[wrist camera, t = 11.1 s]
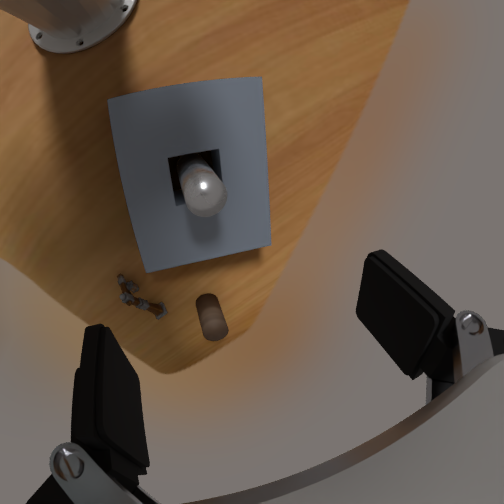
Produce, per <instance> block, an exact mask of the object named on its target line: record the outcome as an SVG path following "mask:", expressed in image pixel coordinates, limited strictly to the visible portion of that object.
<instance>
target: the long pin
mask: <svg viewBox="0 0 504 504" xmlns="http://www.w3.org/2000/svg"><path fill="white" fill-rule="evenodd" d="M176 169H177V173H178V177H179V181H180V184H181V188H182V192H183V195H184V199H185V202H186V205H187V207H188V209H189V210H190V211H191V212H192V213H193V214H195V215H197V216H200V217H210V216H213V215H215V214H217V213H218V212H220V211H221V210H222V209H223V207H224V206H225V204H226V201H227V190H226V187H225V185H224V184H223V183H222V181H221V180H220V179H219V178H218V176H217V175H216V174H215V173H214V171H213V170H212V169H211V167H210V166H209V165H208V164H207V163H206V161H205V160H204V159H203V158H202V156H201V155H199V154H197V153H190V154H185V155H182V156H181V157H180V158H179V159H178V161H177V165H176Z"/></svg>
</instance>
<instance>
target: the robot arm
mask: <svg viewBox="0 0 504 504" xmlns="http://www.w3.org/2000/svg"><path fill="white" fill-rule="evenodd" d="M136 2H137V0H0V9H1V10H3V11H5V12H7V13H9V14H11V15H13V16H15V17H17V18H19V19H21V20H23V21H25V22H27V23H28V29H29V33H30V36H31V38H32V39H33V41H34V42H35V43H36V44H37V45H38V46H39V47H41V48H42V49H45V50H47V51H50V52H53V53H61V54H67V53H75V52H78V51H82V50H85V49H88V48H90V47H92V46H94V45H96V44H98V43H100V42H101V41H103V40H105V39H106V38H108V37H109V36H110V35H111V34H113V33H114V32H115V31H116V30H117V29H118V28H119V27H120V26H121V25H122V24H123V23H124V22H125V21H126V19H127V18H128V17H129V16H130V14H131V12H132V10H133V9H134V7H135V5H136ZM124 9H127V11H125V12H123V10H124ZM41 36H42V38H41V39H40V37H41ZM81 42H84V43H83V45H81V46H80V43H81ZM454 313H455V310H453V308H451V307H450V306H449V305H448V304H447V303H446V302H445V301H444V300H443V299H441V298H440V297H439V296H438V295H437V294H436V293H435V292H434V291H433V290H431V289H430V288H429V287H428V286H427V285H426V284H424V283H423V282H422V281H421V280H419V278H417V277H416V276H415V275H414V274H413V273H412V272H410V271H409V270H408V269H407V268H405V267H404V266H403V265H402V264H401V263H399V262H398V261H397V260H396V259H394V258H393V257H392V256H391V255H390V254H388V253H387V252H386V251H384V250H378V251H374V252H371V253H369V254H368V256H367V258H366V259H365V261H364V268H363V274H362V280H361V285H360V291H359V296H358V301H357V306H356V314H357V317H358V318H359V320H360V321H361V322H362V323H363V324H364V326H365V327H366V328H367V329H368V330H369V331H370V333H371V334H372V335H373V336H374V337H375V339H376V340H377V341H378V342H379V344H380V345H381V346H382V347H383V348H384V350H385V351H386V352H387V353H388V354H389V356H390V357H391V358H392V359H393V361H394V362H395V363H396V364H397V365H398V367H399V368H400V369H401V370H402V372H403V373H404V374H405V375H409V376H410V378H411V379H412V380H414V379H415V378H417V377H418V376H420V375H421V374H422V373H423V372H424V373H425V374H426V375H427V387H426V405H425V406H424V407H422V408H421V409H419V410H418V411H416V412H415V413H413V414H412V415H410V416H409V417H407V418H406V419H404V420H403V421H401V422H400V423H398V424H397V425H395V426H393V427H392V428H390V429H388V430H386V431H385V432H383V433H381V434H380V435H378V436H376V437H374V438H373V439H371V440H369V441H367V442H365V443H363V444H361V445H360V446H358V447H356V448H354V449H352V450H350V451H348V452H346V453H344V454H341V455H339V456H337V457H335V458H333V459H331V460H329V461H326V462H324V463H322V464H319V465H317V466H315V467H312V468H310V469H307V470H305V471H302V472H300V473H297V474H294V475H292V476H289V477H286V478H283V479H280V480H277V481H275V482H271V483H268V484H265V485H262V486H258V487H255V488H252V489H248V490H245V491H241V492H236V493H232V494H228V495H224V496H219V497H215V498H210V499H205V500H200V501H195V502H190V503H183V504H504V330H499V329H493V328H488V327H487V325H486V322H485V321H484V319H483V318H482V317H481V316H480V315H479V314H477V313H475V312H473V311H462V312H460V313H458V314H457V317H456V318H454V317H453V315H454ZM71 419H72V420H71V443H70V442H66V443H63V444H60V445H58V446H57V447H56V448H55V449H54V450H53V452H52V454H51V456H50V463H49V465H50V470H51V472H52V474H51V475H50V477H49V478H48V479H47V480H46V481H45V482H44V483H43V484H42V486H41V487H40V488H39V489H38V490H37V491H36V492H35V494H34V495H33V496H32V497H31V498H30V499H29V500H28V501H27V503H26V504H161V503H159V502H158V501H157V500H155V499H154V498H153V497H152V496H150V495H149V494H148V493H147V492H146V491H145V490H143V489H142V488H141V487H140V486H139V480H138V475H146V474H147V471H146V467H149V466H150V462H149V456H148V450H147V443H146V436H145V429H144V421H143V412H142V403H141V392H140V382H139V378H138V375H137V373H136V372H135V370H134V368H133V367H132V365H131V364H130V362H129V361H128V359H127V358H126V356H125V354H124V352H123V351H122V349H121V347H120V345H119V344H118V342H117V340H116V338H115V337H114V335H113V333H112V331H111V330H110V328H109V327H104V325H103V324H97V325H92V326H88V327H86V328H85V333H84V340H83V346H82V353H81V363H80V368H77V370H76V372H75V379H74V388H73V401H72V418H71Z"/></svg>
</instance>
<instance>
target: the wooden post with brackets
mask: <svg viewBox="0 0 504 504" xmlns="http://www.w3.org/2000/svg"><path fill="white" fill-rule="evenodd" d="M117 278H118V283H119V285H120V287H121V290H122V293H123V294H120V299H121V300H122V302H123V303H126V304H127V305H129V306H130V305H135V306H136V308H139V309H143V310H148V311H150V312H152V313H153V314H155V316H156V319H158V320H159V319H160V318H161V317H163V316H164V315H165V314H167V310H166V308H165V306H164V303H162V302H161V303H159V304H153V303H149V302H148V301H147V300H144V299H142V298H136V297H134V296H133V295H132V294H131V292H130V290H131V291H132V292H133V293H135V292H136V291H138V290H139V288H138V286H137V284H135V283H133V282H132V280H131V281H130V282H129V283H128V282H127V283H126V281H125V279H124V277H123V275H122V274H119V275H118V276H117Z"/></svg>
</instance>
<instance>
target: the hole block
mask: <svg viewBox="0 0 504 504" xmlns="http://www.w3.org/2000/svg"><path fill="white" fill-rule="evenodd" d="M107 101H108V109H109V116H110V122H111V129H112V135H113V141H114V146H115V152H116V157H117V162H118V167H119V172H120V176H121V181H122V186H123V190H124V194H125V198H126V203H127V207H128V211H129V215H130V219H131V222H132V226H133V230H134V234H135V237H136V241H137V244H138V248H139V251H140V254H141V258H142V261H143V264H144V268H145V271H146V273H150V272H154V271H159V270H163V269H167V268H172V267H176V266H181V265H185V264H190V263H194V262H198V261H203V260H207V259H212V258H216V257H221V256H225V255H230V254H234V253H238V252H243V251H247V250H252V249H256V248H261V247H265V246H270V245H271V227H270V205H269V185H268V167H267V149H266V132H265V117H264V102H263V87H262V77H244V78H229V79H217V80H208V81H199V82H191V83H184V84H178V85H171V86H165V87H160V88H154V89H149V90H144V91H140V92H135V93H131V94H127V95H122V96H118V97H114V98H111V99H107ZM208 150H211V156H212V164H213V171H214V173H215V174H216V175H217V176H218V178H219V179H220V180H221V181H222V183H223V184H224V185H225V187H226V190H227V201H226V204H225V206H224V207H223V209H222V210H221V211H220V212H218V213H217V214H215V215H213V216H210V217H200V216H197V215H195V214H193V213H192V212H191V211H190V210H189V209H188V207H187V205H186V202H185V199H184V195H183V192H182V189H181V190H176V191H173V188H172V182H171V176H170V170H169V164H168V158H169V157H174V156H179V155H185V154H190V153H196V152H202V151H208Z"/></svg>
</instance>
